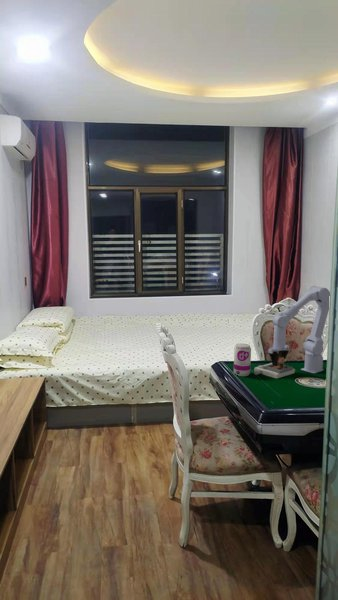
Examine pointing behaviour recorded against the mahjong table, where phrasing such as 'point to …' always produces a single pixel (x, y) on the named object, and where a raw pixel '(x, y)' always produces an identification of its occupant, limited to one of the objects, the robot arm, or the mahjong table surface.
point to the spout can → (280, 363)
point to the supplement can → (242, 359)
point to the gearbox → (273, 370)
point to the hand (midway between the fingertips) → (278, 364)
